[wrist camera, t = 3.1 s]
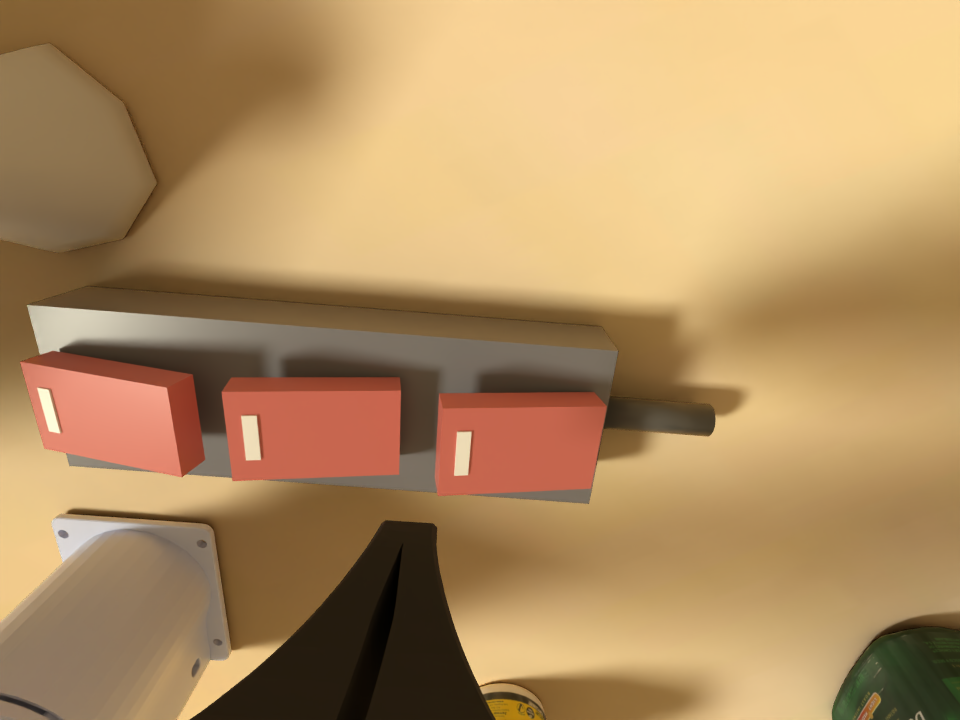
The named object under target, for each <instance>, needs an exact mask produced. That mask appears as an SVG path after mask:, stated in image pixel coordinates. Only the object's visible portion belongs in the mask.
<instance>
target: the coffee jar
mask: <svg viewBox="0 0 960 720" xmlns="http://www.w3.org/2000/svg"><path fill="white" fill-rule="evenodd" d="M832 720H960V631H958V630H952V629H947V628H942V627H920V628H916V629H911V630H904V631H900V632H896V633H893V634H887V635H884V636H881V637H879V638H878V639H877V640H875V641H874V642H873V643H872V644H871V645H870V646H869V647H868V648H867V649H866V650H865V652H864V653H863V655H862V656H861V657H860V659H859V660H858V662H857V663H856V664H855V666H854V667H853V668H852V670H851V671H850V673H849V674H848V676H847V677H846V679H845V681H844V683H843V684H842V686H841V688H840V691H839V693H838V695H837V697H836V700H835V702H834V705H833V709H832Z"/></svg>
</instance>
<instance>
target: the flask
mask: <svg viewBox="0 0 960 720" xmlns="http://www.w3.org/2000/svg"><path fill="white" fill-rule="evenodd" d="M156 184H157V182H156V179H155V177H154V175H153V172H152V170H151V167H150V165H149V163H148V160H147V158H146V155H145V153H144V151H143V148H142V146H141V143H140V141H139V139H138V136H137V134H136V131H135V129H134V127H133V124H132V122H131V119H130V117H129V115H128V112H127V110H126V107H125V105H124V103H123V102H122V101H121V100H120V99H118V98H117V97H116V96H115V95H114V94H112V93H111V92H110V91H109V90H107V89H106V88H105V87H104V86H102V85H101V84H100V83H99V82H97V81H96V80H95V79H94V78H93V77H91V76H90V75H89V74H88V73H86V72H85V71H84V70H83V69H81V68H80V67H79V66H78V65H76V64H75V63H74V62H73V61H72V60H70V59H69V58H68V57H67V56H65V55H64V54H63V53H62V52H60V51H59V50H58V49H57V48H55V47H54V46H53V45H52V44H51V43H47V44H42V45H37V46H33V47H28V48H24V49H20V50H16V51H13V52H9V53H5V54H1V55H0V239H1V240H5V241H9V242H13V243H17V244H21V245H25V246H30V247H34V248H38V249H42V250H47V251H52V252H56V253H62V252H66V251H71V250H76V249H80V248H85V247H89V246H94V245H98V244H103V243H107V242H112V241H117V240H121V239H124V237H125V235H126V234H127V232H128V230H129V229H130V227H131V225H132V224H133V222H134V220H135V219H136V217H137V216H138V214H139V212H140V211H141V209H142V207H143V206H144V204H145V202H146V201H147V199H148V197H149V196H150V194H151V192H152V191H153V189H154V187H155V186H156Z"/></svg>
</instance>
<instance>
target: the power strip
mask: <svg viewBox="0 0 960 720" xmlns="http://www.w3.org/2000/svg"><path fill="white" fill-rule="evenodd" d="M27 308H28V311H29V315H30V319H31V323H32V327H33V330H34V334H35V338H36V342H37V345H38V349H39V353H40V355H41V354H44V353H47V352H50V351H58V352H64V353H70V354H76V355H81V356H87V357H93V358H99V359H105V360H111V361H117V362H123V363H128V364H134V365H140V366H146V367H152V368H158V369H164V370H169V371H175V372H181V373H187V374H193V380H194V387H195V393H196V400H197V407H198V414H199V421H200V427H201V434H202V441H203V448H204V455H205V460H204V461H203V462H202V463H200V464H199V465H198V466H196V467H195V468H194V469H192V470H191V471H190V472H188V473H187V474H188V475H202V476H216V477H229V478H232V472H231V464H230V456H229V448H228V440H227V432H226V424H225V416H224V408H223V400H222V390H223V389H224V387H225V386H226V385H227V383H228V382H229V380H230V379H231V377H400V385H401V411H400V458H399V475H374V476H348V477H323V478H297V479H271V480H270V481H284V482H298V483H312V484H325V485H339V486H353V487H366V488H380V489H394V490H408V491H421V492H435V493H437V488H436V481H435V462H436V443H437V424H438V405H439V393H537V392H595V394H596V395H597V396H598V397H599V398H600V399H601V400H602V401H603V403H604V404H605V405H606V406H607V408H606V413H605V419H604V424H603V428H604V429H617V430H631V431H644V432H657V433H671V434H684V435H697V436H710V435H711V434H712V432H713V430H714V427H715V412H714V409H713V407H712V406H711V405H710V404H700V403H687V402H674V401H661V400H648V399H635V398H622V397H610V392H611V387H612V382H613V377H614V371H615V366H616V361H617V356H618V350H617V348H616V347H615V345H614V344H613V343H612V341H611V340H610V338H609V337H608V335H607V334H606V332H605V331H604V330H603V328H602V327H600V326H587V325H575V324H562V323H549V322H536V321H524V320H511V319H498V318H486V317H473V316H460V315H447V314H435V313H422V312H409V311H397V310H384V309H371V308H359V307H346V306H333V305H320V304H308V303H295V302H282V301H270V300H257V299H244V298H231V297H219V296H206V295H193V294H181V293H168V292H155V291H143V290H130V289H117V288H104V287H92V286H86V287H83V288H80V289H77V290H73V291H70V292H67V293H64V294H60V295H57V296H54V297H51V298H47V299H44V300H41V301H38V302H35V303H31V304H28V305H27ZM602 434H603V429H602ZM602 434H601V439H602ZM601 439H600V444H601ZM599 449H600V445H599ZM598 454H599V450H598ZM66 455H67V458H68V462H69V466H78V467H92V468H106V469H120V470H133V471H147V472H154V471H150V470H145V469H140V468H135V467H130V466H126V465H121V464H116V463H111V462H107V461H102V460H97V459H92V458H87V457H83V456H78V455H73V454H68V453H66ZM597 460H598V455H597ZM597 460H596V465H597ZM595 470H596V466H595ZM594 475H595V471H594ZM593 480H594V476H593ZM592 486H593V481H592ZM592 486H591V489H573V490H552V491H531V492H510V493H488V494H467V495H476V496H490V497H504V498H517V499H531V500H545V501H559V502H572V503H586V504H589V501H590V496H591V491H592Z"/></svg>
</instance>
